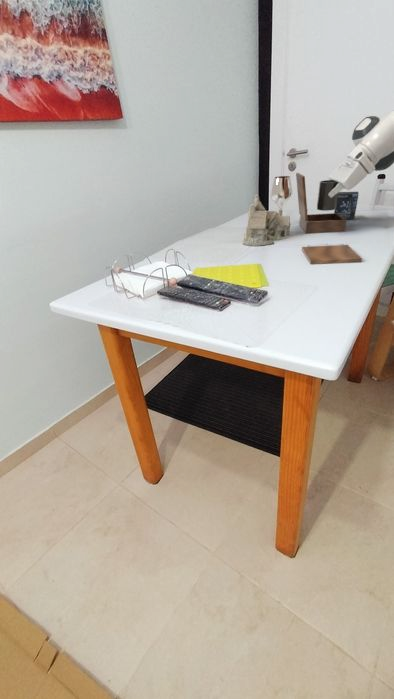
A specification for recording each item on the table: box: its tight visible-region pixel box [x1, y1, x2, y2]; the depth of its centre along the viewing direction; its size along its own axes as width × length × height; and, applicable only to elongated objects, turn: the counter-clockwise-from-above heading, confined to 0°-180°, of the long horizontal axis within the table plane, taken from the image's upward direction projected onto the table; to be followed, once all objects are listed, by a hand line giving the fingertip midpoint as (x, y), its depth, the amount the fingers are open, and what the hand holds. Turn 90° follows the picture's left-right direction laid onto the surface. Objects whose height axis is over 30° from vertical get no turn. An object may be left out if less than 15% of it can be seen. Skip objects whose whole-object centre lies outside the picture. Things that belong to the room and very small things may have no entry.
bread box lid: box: [295, 172, 309, 221], centre depth 120 cm, size 14×13×1 cm
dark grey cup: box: [316, 179, 339, 212], centre depth 119 cm, size 6×6×9 cm
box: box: [333, 191, 360, 221], centre depth 134 cm, size 8×6×11 cm
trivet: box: [301, 244, 363, 265], centre depth 101 cm, size 14×14×1 cm
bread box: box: [299, 212, 347, 235], centre depth 125 cm, size 14×13×5 cm
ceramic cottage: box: [242, 194, 292, 247], centre depth 117 cm, size 16×16×15 cm
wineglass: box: [270, 175, 293, 210], centre depth 131 cm, size 8×8×18 cm
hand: (326, 194), depth 119 cm, fingers closed on dark grey cup, 6 cm apart
